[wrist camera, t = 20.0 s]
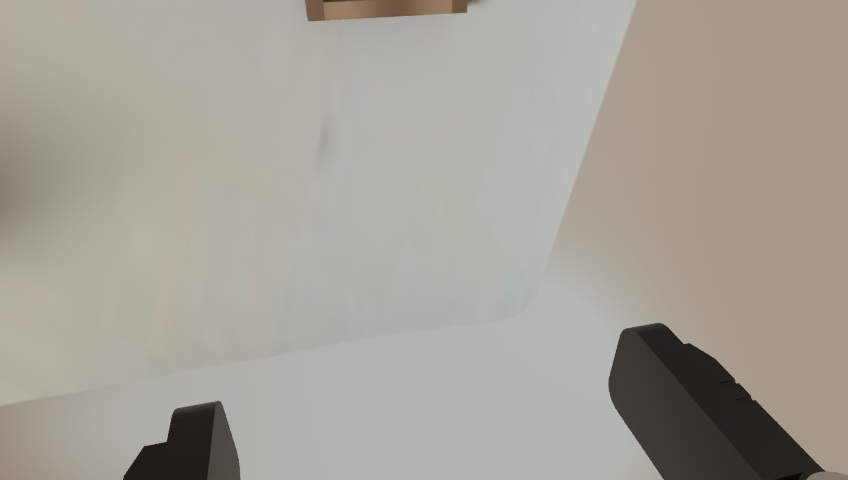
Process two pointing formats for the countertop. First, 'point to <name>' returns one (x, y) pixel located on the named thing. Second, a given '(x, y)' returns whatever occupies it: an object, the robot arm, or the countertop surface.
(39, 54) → the countertop surface
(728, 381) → the robot arm
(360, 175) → the countertop surface
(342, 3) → the well frame
